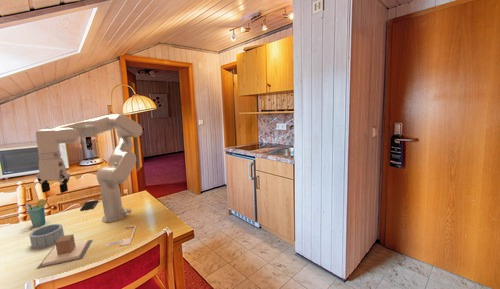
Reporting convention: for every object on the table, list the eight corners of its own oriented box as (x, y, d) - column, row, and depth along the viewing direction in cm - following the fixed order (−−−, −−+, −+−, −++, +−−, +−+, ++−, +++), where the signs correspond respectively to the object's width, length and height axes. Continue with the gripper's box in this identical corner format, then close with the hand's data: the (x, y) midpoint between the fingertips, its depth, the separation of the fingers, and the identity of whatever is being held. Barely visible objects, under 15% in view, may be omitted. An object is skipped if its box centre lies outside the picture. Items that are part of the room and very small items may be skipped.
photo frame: (94, 250, 105) (106, 230, 122) (95, 252, 105) (106, 232, 122) (130, 243, 109) (136, 225, 126) (130, 245, 109) (136, 227, 126)
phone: (98, 199, 165) (93, 207, 151) (98, 201, 165) (93, 209, 152) (85, 201, 162) (79, 210, 148) (85, 203, 162) (79, 211, 149)
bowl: (67, 233, 122) (65, 222, 121) (58, 245, 110) (55, 233, 109) (39, 238, 118) (37, 226, 116) (26, 252, 106) (23, 239, 105)
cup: (37, 231, 125) (31, 205, 123) (20, 233, 124) (15, 207, 122) (54, 219, 139) (49, 195, 137) (39, 220, 138) (34, 197, 135)
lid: (88, 241, 112) (86, 228, 110) (79, 257, 100) (76, 242, 98) (56, 248, 107) (53, 234, 106) (42, 266, 95) (39, 250, 94)
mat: (93, 240, 114) (93, 239, 114) (82, 260, 99) (82, 259, 99) (53, 248, 108) (53, 247, 108) (36, 270, 93) (35, 269, 93)
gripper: (73, 154, 108) (78, 189, 110) (42, 154, 111) (47, 188, 113) (58, 157, 101) (63, 194, 103) (25, 157, 103) (31, 194, 105)
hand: (55, 191), depth 108 cm, fingers open, 9 cm apart
